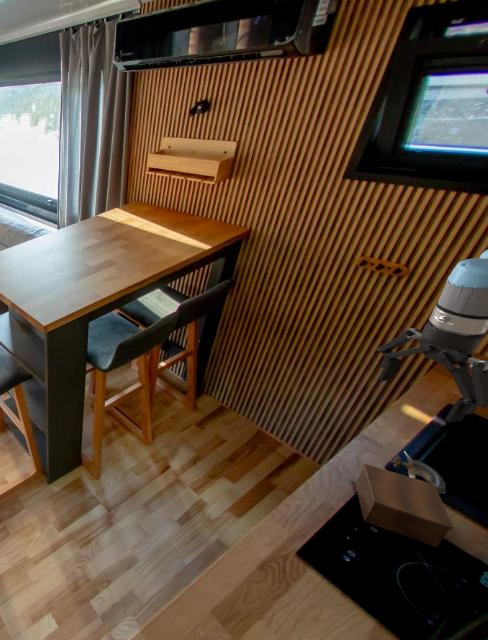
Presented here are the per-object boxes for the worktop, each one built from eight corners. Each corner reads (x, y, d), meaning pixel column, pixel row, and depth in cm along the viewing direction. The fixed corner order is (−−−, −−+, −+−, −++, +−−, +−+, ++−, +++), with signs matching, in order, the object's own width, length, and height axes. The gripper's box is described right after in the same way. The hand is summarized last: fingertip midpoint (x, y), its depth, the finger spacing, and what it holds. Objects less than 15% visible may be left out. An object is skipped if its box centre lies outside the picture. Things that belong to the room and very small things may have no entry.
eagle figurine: (385, 474, 94) (442, 497, 86) (393, 448, 94) (450, 469, 86) (393, 473, 98) (448, 495, 90) (400, 448, 98) (456, 468, 90)
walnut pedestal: (421, 504, 88) (434, 484, 85) (438, 548, 80) (453, 528, 77) (353, 483, 95) (363, 463, 91) (363, 521, 87) (374, 501, 84)
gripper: (374, 302, 89) (347, 367, 99) (522, 366, 67) (470, 443, 76) (405, 297, 89) (375, 363, 98) (564, 359, 67) (507, 438, 76)
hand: (416, 398), depth 87 cm, fingers open, 13 cm apart
